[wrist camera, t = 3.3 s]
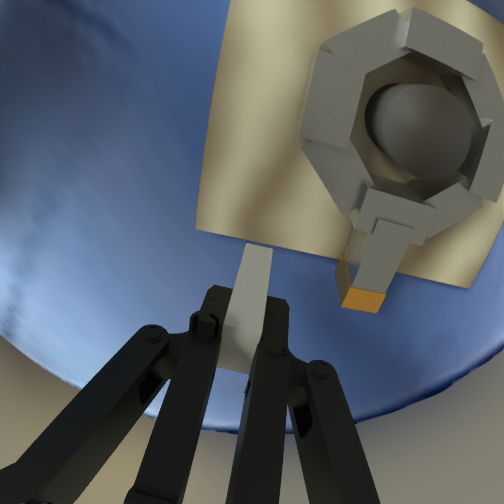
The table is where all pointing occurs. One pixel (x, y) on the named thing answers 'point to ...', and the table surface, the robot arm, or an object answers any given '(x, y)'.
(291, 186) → the collar base
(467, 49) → the grey handled ring
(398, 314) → the table surface
